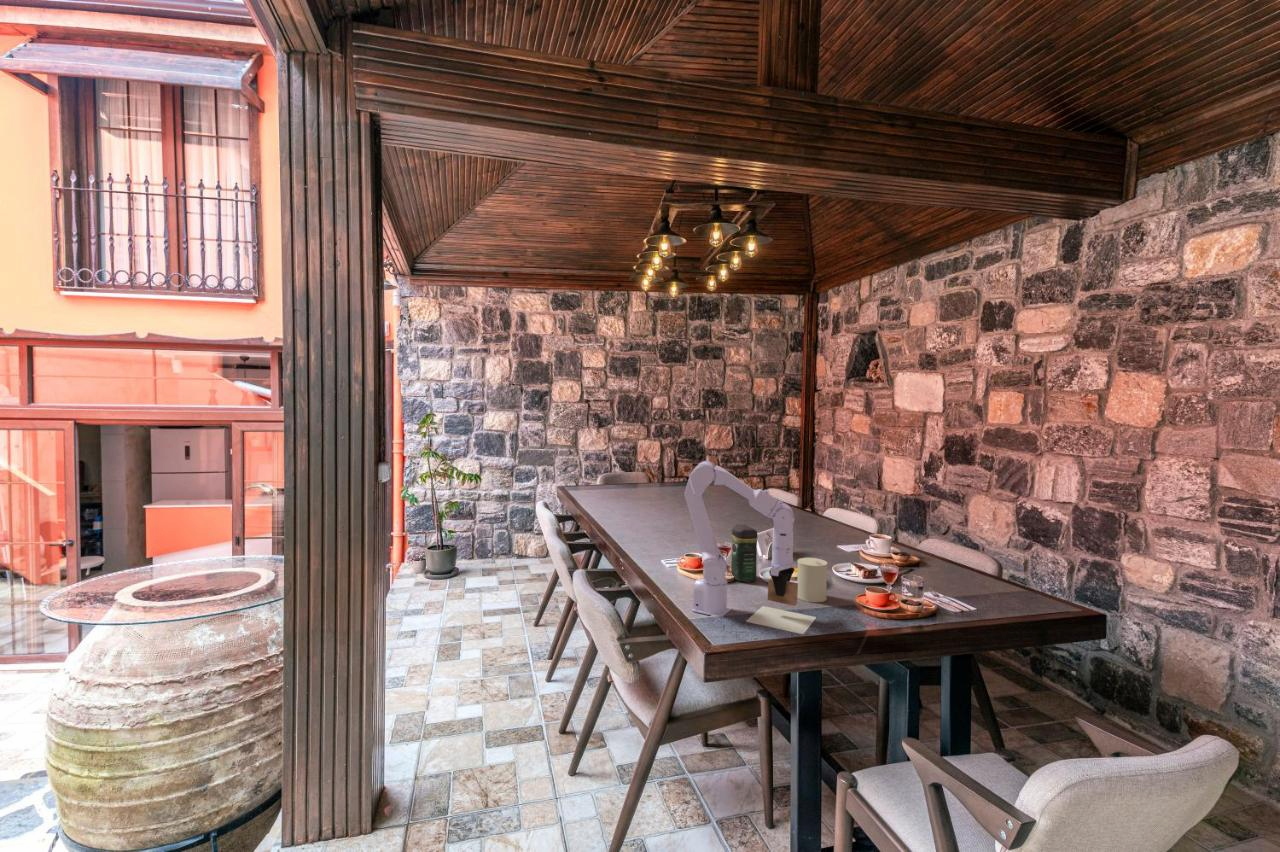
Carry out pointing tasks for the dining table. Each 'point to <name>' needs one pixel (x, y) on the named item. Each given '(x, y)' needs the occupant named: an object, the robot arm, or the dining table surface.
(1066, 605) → the dining table surface
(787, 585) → the walnut slab
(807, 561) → the can
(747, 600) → the dining table surface
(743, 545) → the coffee jar
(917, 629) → the dining table surface
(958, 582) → the dining table surface
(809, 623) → the mat
